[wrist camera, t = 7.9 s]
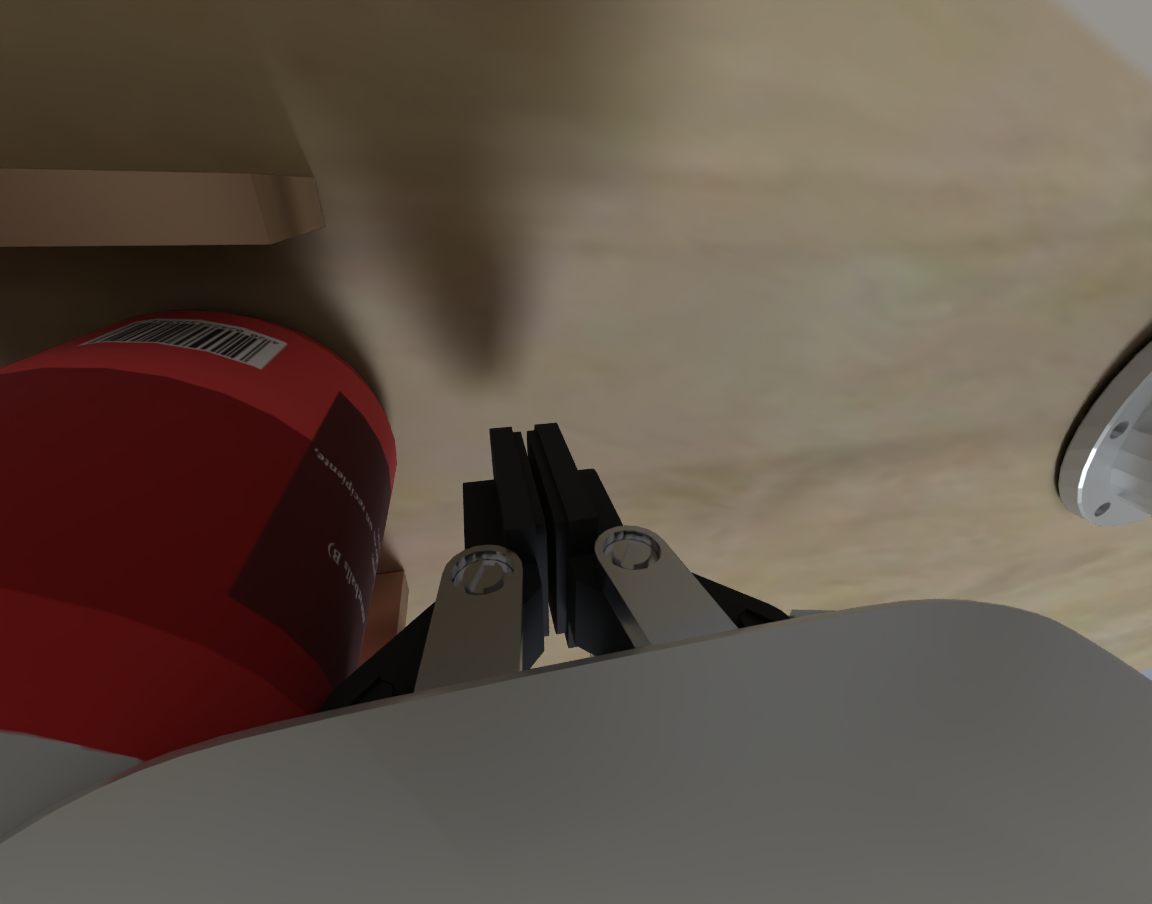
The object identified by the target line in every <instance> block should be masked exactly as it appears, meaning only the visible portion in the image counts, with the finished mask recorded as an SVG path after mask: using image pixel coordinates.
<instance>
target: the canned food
mask: <svg viewBox="0 0 1152 904" xmlns="http://www.w3.org/2000/svg"><path fill="white" fill-rule="evenodd" d="M396 465H397V460H396V448H395V439H394V436H393V433H392V430H391V427H390V425H389V422H388V419H387V416H386V414H385V412H384V410H383V408H382V406H381V405H380V403H379V401H378V400H377V398H376V396H375V395H374V393H373V392H372V390H371V388H370V387H369V385H368V384H367V383H366V382H365V381H364V380H363V379H362V377H361V376H360V375H359V374H358V373H357V372H356V371H355V370H354V369H353V368H352V366H351V365H349V364H348V363H347V362H346V361H344V360H343V359H342V358H340V357H339V356H338V355H337V354H335V353H334V352H333V351H331V350H330V349H329V348H328V347H326V346H324V345H322V344H320V343H319V342H317V341H315V340H313V339H311V338H309V337H308V336H306V335H304V334H302V333H300V332H298V331H295V330H293V329H290V328H287V327H284V326H282V325H279V324H276V323H273V322H270V321H268V320H263V319H258V318H253V317H248V316H242V315H237V314H232V313H225V312H217V311H187V310H174V311H167V312H160V313H153V314H146V315H139V316H135V317H132V318H129V319H126V320H124V321H121V322H118V323H115V324H112V325H109V326H106V327H104V328H101V329H98V330H96V331H93V332H91V333H88V334H86V335H83V336H81V337H78V338H75V339H73V340H70V341H68V342H65V343H63V344H60V345H58V346H55V347H52V348H50V349H47V350H45V351H42V352H40V353H37V354H35V355H32V356H29V357H27V358H24V359H22V360H19V361H17V362H14V363H12V364H9V365H6V366H4V367H1V368H0V837H2V836H4V835H5V834H7V833H8V832H10V831H11V830H13V829H14V828H16V827H17V826H18V825H20V824H21V823H23V822H24V821H26V820H27V819H29V818H31V817H32V816H34V815H36V814H38V813H39V812H41V811H43V810H45V809H46V808H48V807H50V806H52V805H53V804H55V803H57V802H59V801H61V800H63V799H65V798H67V797H69V796H71V795H73V794H75V793H77V792H79V791H81V790H83V789H86V788H88V787H90V786H92V785H94V784H96V783H98V782H100V781H102V780H104V779H106V778H108V777H110V776H112V775H114V774H116V773H119V772H121V771H124V770H126V769H129V768H131V767H134V766H136V765H139V764H141V763H144V762H146V761H149V760H151V759H154V758H156V757H159V756H161V755H164V754H166V753H169V752H171V751H175V750H178V749H181V748H184V747H187V746H191V745H194V744H197V743H200V742H203V741H206V740H210V739H213V738H216V737H219V736H223V735H227V734H231V733H235V732H239V731H243V730H247V729H251V728H255V727H259V726H263V725H267V724H271V723H275V722H279V721H283V720H288V719H293V718H297V717H302V716H306V715H311V714H316V713H319V711H320V709H321V707H322V706H323V704H324V702H325V701H326V699H327V697H328V696H329V695H330V694H331V693H332V692H333V691H334V690H335V689H336V687H337V686H338V685H339V684H340V683H342V682H343V681H344V680H345V679H346V678H347V677H349V676H350V675H351V674H352V673H353V672H354V671H355V670H357V669H358V664H359V659H360V654H361V649H362V644H363V639H364V633H365V628H366V623H367V618H368V613H369V608H370V602H371V597H372V592H373V587H374V582H375V577H376V571H377V566H378V561H379V556H380V551H381V546H382V540H383V535H384V530H385V525H386V520H387V515H388V509H389V504H390V499H391V494H392V489H393V483H394V477H395V471H396Z"/></svg>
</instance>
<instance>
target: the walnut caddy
mask: <svg viewBox="0 0 1152 904" xmlns="http://www.w3.org/2000/svg"><path fill="white" fill-rule="evenodd" d="M323 227H325V224H324V219H323V215H322V211H321V206H320V202H319V198H318V193H317V189H316V184H315V180H314V178H309V177H295V176H280V175H266V174H251V173H206V172H157V171H108V170H59V169H11V168H0V247H28V246H148V245H267V244H273V243H276V242H280V241H283V240H286V239H289V238H292V237H295V236H298V235H301V234H304V233H308V232H311V231H314V230H317V229H320V228H323ZM408 593H409V590H408V585H407V581H406V577H405V572H404V571H398V572H391V573H385V574H378V575H376V577H375V582H374V587H373V592H372V597H371V602H370V608H369V613H368V618H367V623H366V628H365V633H364V639H363V644H362V649H361V654H360V659H359V664H358V668H359V667H360V666H361V665H362V664H364V663H365V662H366V661H367V660H368V659H369V658H371V657H372V656H373V655H374V654H375V653H376V652H377V651H379V650H380V649H381V648H382V647H383V646H384V645H386V644H387V643H388V642H389V641H390V640H391V639H392V638H394V637H395V636H396V635H397V634H398V633H399V632H401V631H402V630H403V629H404V628H405V624H406V614H407V603H408Z"/></svg>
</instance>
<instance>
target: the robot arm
mask: <svg viewBox="0 0 1152 904" xmlns="http://www.w3.org/2000/svg"><path fill="white" fill-rule="evenodd" d="M490 442H491V453H492V464H493V475H494V480H485V481H476V482H467V483H463V506H464V538H465V550H463V551H462V552H460V553H459V554H457V555H455V556H454V557H453V558H452V559H451V560H450V561H449V562H448V563H447V564H446V566H445V569H444V571H443V573H442V577H441V581H440V585H439V589H438V594H437V598H436V601H435V602H434V603H433V604H432V605H431V606H430V607H428V608H427V609H426V610H425V611H424V612H423V613H421V614H420V615H419V616H418V617H417V618H416V619H414V620H413V621H412V622H411V623H410V624H409V625H408V626H406V627H405V628H404V629H403V630H402V631H401V632H399V633H398V634H397V635H396V636H395V637H394V638H392V639H391V640H390V641H389V642H388V643H387V644H386V645H384V646H383V647H382V648H381V649H380V650H379V651H377V652H376V653H375V654H374V655H373V656H372V657H371V658H369V659H368V660H367V661H366V662H365V663H364V664H362V665H361V666H360V667H359V668H358V669H357V670H355V671H354V672H353V673H352V674H351V675H350V676H349V677H347V678H346V679H345V680H344V681H343V682H342V683H340V684H339V685H338V686H337V687H336V689H335V690H334V691H333V692H332V693H331V694H330V695H329V696H328V697H327V699H326V701H325V702H324V704H323V706H322V707H321V709H320V711H319V713H316V714H311V715H306V716H302V717H297V718H293V719H288V720H283V721H279V722H275V723H271V724H267V725H263V726H259V727H255V728H251V729H247V730H243V731H239V732H235V733H231V734H227V735H223V736H219V737H216V738H213V739H210V740H206V741H203V742H200V743H197V744H194V745H191V746H187V747H184V748H181V749H178V750H175V751H171V752H169V753H166V754H164V755H161V756H159V757H156V758H154V759H151V760H149V761H146V762H144V763H141V764H139V765H136V766H134V767H131V768H129V769H126V770H124V771H121V772H119V773H116V774H114V775H112V776H110V777H108V778H106V779H104V780H102V781H100V782H98V783H96V784H94V785H92V786H90V787H88V788H86V789H83V790H81V791H79V792H77V793H75V794H73V795H71V796H69V797H67V798H65V799H63V800H61V801H59V802H57V803H55V804H53V805H52V806H50V807H48V808H46V809H45V810H43V811H41V812H39V813H38V814H36V815H34V816H32V817H31V818H29V819H27V820H26V821H24V822H23V823H21V824H20V825H18V826H17V827H16V828H14V829H13V830H11V831H10V832H8V833H7V834H5V835H4V836H2V837H0V904H1152V681H1151V680H1150V679H1149V678H1147V677H1145V676H1144V675H1143V674H1141V673H1140V672H1138V671H1137V670H1135V669H1134V668H1132V667H1131V666H1129V665H1128V664H1126V663H1125V662H1123V661H1122V660H1120V659H1119V658H1117V657H1116V656H1114V655H1113V654H1111V653H1110V652H1108V651H1106V650H1105V649H1103V648H1101V647H1100V646H1098V645H1097V644H1095V643H1093V642H1092V641H1090V640H1089V639H1087V638H1085V637H1084V636H1082V635H1080V634H1079V633H1077V632H1076V631H1074V630H1072V629H1070V628H1068V627H1066V626H1064V625H1063V624H1061V623H1059V622H1057V621H1055V620H1052V619H1050V618H1048V617H1045V616H1042V615H1040V614H1037V613H1033V612H1030V611H1026V610H1023V609H1019V608H1014V607H1010V606H1005V605H999V604H992V603H985V602H978V601H971V600H955V599H925V600H908V601H898V602H891V603H884V604H877V605H869V606H862V607H856V608H850V609H844V610H838V611H829V610H792V611H791V613H790V616H787V615H786V614H785V613H784V612H782V611H781V610H779V609H778V608H776V607H774V606H772V605H770V604H768V603H765V602H763V601H760V600H758V599H755V598H753V597H750V596H748V595H746V594H743V593H741V592H738V591H736V590H733V589H731V588H728V587H726V586H723V585H721V584H718V583H716V582H714V581H711V580H709V579H706V578H704V577H701V576H699V575H696V574H694V573H691V572H690V571H689V569H688V568H687V567H686V566H685V565H684V564H683V562H682V561H681V560H680V559H679V558H678V556H677V555H676V554H675V553H674V552H673V550H672V549H671V548H670V547H669V546H668V544H667V543H666V542H665V541H664V540H663V539H662V538H661V537H660V536H659V535H657V534H656V533H654V532H652V531H650V530H648V529H645V528H642V527H638V526H627V525H625V526H623V524H622V522H621V520H620V518H619V516H618V514H617V512H616V510H615V508H614V506H613V504H612V502H611V500H610V498H609V496H608V494H607V492H606V490H605V488H604V486H603V484H602V482H601V480H600V478H599V476H598V474H597V472H596V471H595V469H584V470H577V467H576V465H575V463H574V461H573V458H572V456H571V454H570V451H569V449H568V447H567V445H566V442H565V440H564V438H563V436H562V433H561V431H560V429H559V426H558V424H557V423H548V424H537V425H535V427H534V430H533V431H527V451H528V456H527V453H526V449H525V445H524V442H523V438H522V434H521V432H513V431H512V427H503V428H492V429H490ZM1058 486H1059V492H1060V498H1061V501H1062V503H1063V504H1064V506H1065V507H1066V509H1067V510H1069V511H1070V512H1072V513H1074V514H1075V515H1077V516H1079V517H1081V518H1083V519H1085V520H1086V521H1088V522H1091V523H1093V524H1096V525H1099V526H1118V525H1124V524H1129V523H1134V522H1137V521H1140V520H1143V519H1145V518H1148V517H1151V516H1152V340H1151V341H1150V342H1149V343H1148V344H1147V345H1146V346H1145V347H1144V348H1143V349H1141V350H1140V351H1139V352H1138V353H1137V354H1136V355H1135V356H1134V357H1133V358H1132V359H1131V360H1130V361H1129V362H1128V363H1127V365H1126V366H1125V367H1124V368H1123V369H1122V370H1121V371H1120V372H1119V373H1118V374H1117V375H1116V376H1115V377H1114V378H1113V379H1112V381H1111V382H1110V383H1109V385H1108V386H1107V387H1106V388H1105V390H1104V391H1103V392H1102V393H1101V395H1100V396H1099V397H1098V398H1097V400H1096V401H1095V402H1094V403H1093V405H1092V406H1091V408H1090V409H1089V411H1088V412H1087V414H1086V416H1085V417H1084V419H1083V420H1082V422H1081V423H1080V425H1079V426H1078V428H1077V430H1076V432H1075V434H1074V436H1073V438H1072V440H1071V442H1070V444H1069V446H1068V448H1067V450H1066V453H1065V456H1064V459H1063V462H1062V465H1061V468H1060V474H1059V482H1058ZM548 602H549V606H550V611H551V615H552V619H553V624H554V628H555V632H556V634H561V633H565V636H566V640H567V644H568V648H573V647H580V648H582V649H584V650H585V651H587V652H589V653H590V658H584V659H579V660H574V661H569V662H564V663H559V664H554V665H549V666H544V667H539V668H534V669H530V668H531V667H532V665H533V664H534V663H535V662H536V660H537V659H538V658H539V657H540V655H541V654H542V653H543V652H544V637H545V636H549V608H548Z"/></svg>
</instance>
